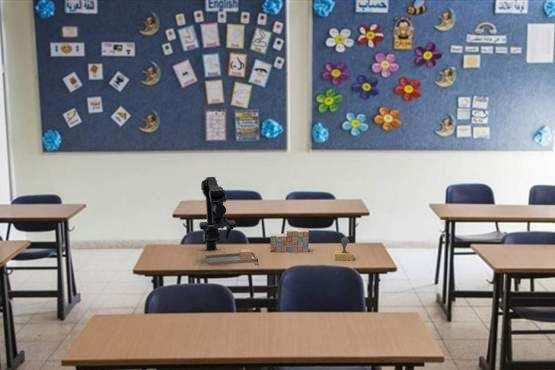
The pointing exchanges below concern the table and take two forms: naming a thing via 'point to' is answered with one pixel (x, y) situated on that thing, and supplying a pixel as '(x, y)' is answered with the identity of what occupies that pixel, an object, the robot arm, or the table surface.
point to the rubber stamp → (344, 252)
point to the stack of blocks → (290, 241)
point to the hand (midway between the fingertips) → (217, 240)
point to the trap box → (229, 259)
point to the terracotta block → (245, 254)
